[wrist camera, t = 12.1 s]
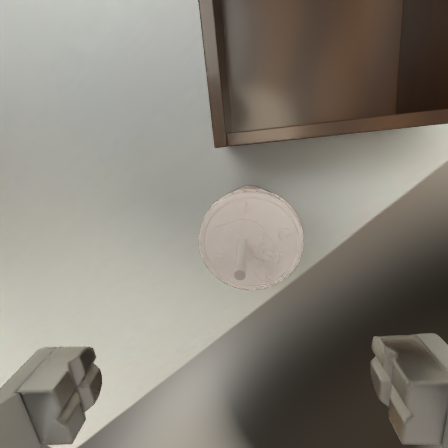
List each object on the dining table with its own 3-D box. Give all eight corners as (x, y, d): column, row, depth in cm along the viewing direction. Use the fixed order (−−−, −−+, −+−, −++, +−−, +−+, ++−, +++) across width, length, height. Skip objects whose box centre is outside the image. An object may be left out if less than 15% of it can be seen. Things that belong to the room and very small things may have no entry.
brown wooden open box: (224, 144, 24) (214, 148, 17) (203, -66, 20) (179, -175, 13) (402, 125, 23) (471, 120, 16) (421, -108, 18) (527, -258, 11)
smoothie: (233, 158, 25) (215, 185, 11) (298, 189, 25) (354, 251, 12) (204, 220, 27) (160, 305, 13) (264, 248, 27) (280, 359, 14)
